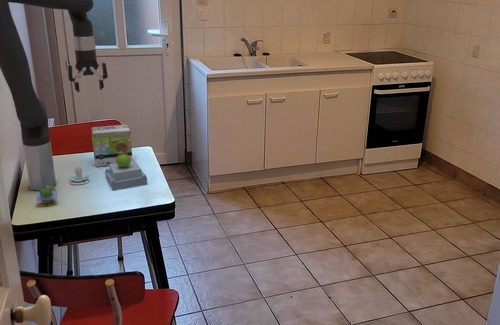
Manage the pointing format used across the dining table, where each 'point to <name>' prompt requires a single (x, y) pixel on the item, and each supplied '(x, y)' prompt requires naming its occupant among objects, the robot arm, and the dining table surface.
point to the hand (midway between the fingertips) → (89, 90)
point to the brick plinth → (126, 181)
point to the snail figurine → (123, 153)
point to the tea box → (109, 143)
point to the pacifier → (78, 177)
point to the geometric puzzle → (46, 194)
